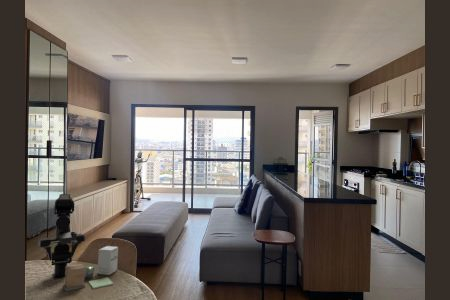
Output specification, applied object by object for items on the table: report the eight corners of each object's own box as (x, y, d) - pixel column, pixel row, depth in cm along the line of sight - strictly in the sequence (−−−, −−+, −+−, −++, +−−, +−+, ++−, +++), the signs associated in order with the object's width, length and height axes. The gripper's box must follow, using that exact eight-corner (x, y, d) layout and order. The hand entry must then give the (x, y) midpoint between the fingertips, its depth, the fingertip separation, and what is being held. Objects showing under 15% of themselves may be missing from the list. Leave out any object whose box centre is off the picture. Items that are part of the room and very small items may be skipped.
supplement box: (109, 275, 152) (110, 250, 153) (97, 273, 154) (98, 249, 155) (117, 270, 160) (118, 246, 160) (105, 269, 161) (106, 245, 162)
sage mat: (88, 282, 142) (88, 281, 142) (107, 278, 148) (107, 277, 148) (93, 288, 135) (93, 287, 135) (113, 284, 141) (113, 283, 141)
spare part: (82, 277, 149) (83, 267, 149) (92, 275, 152) (92, 265, 152) (84, 280, 145) (85, 269, 145) (94, 278, 148) (95, 268, 148)
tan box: (63, 286, 138) (64, 266, 138) (82, 282, 142) (82, 263, 143) (65, 291, 132) (66, 270, 133) (85, 287, 137) (86, 267, 137)
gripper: (43, 230, 128) (41, 267, 127) (89, 225, 140) (87, 259, 139) (38, 226, 136) (36, 260, 135) (82, 222, 148) (80, 253, 147)
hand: (61, 258), depth 139 cm, fingers open, 9 cm apart
